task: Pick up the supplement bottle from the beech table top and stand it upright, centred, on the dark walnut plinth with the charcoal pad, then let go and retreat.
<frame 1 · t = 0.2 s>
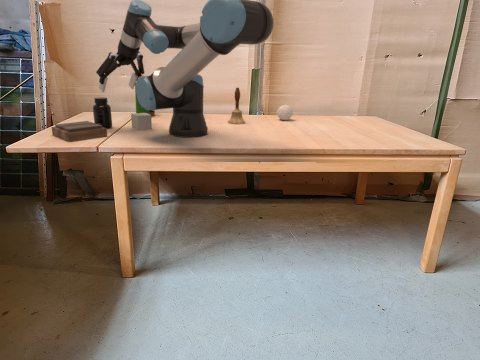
hand: (116, 88, 150), 16 cm above the table, tool tilted 35°, fingers open, 13 cm apart
grey cube: (141, 129, 152), on the table
whitish grey ball: (284, 120, 183), on the table
motor: (145, 116, 182), on the table
walnut plinth: (80, 135, 136), on the table
hand bell: (236, 123, 173), on the table
supplement bottle: (103, 128, 152), on the table
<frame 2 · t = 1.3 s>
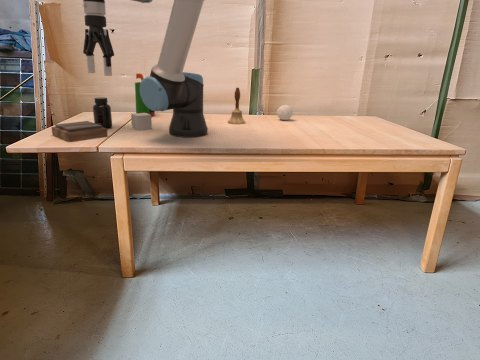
hand: (99, 74, 145), 21 cm above the table, tool pointing down, fingers open, 13 cm apart
nothing on the table moved.
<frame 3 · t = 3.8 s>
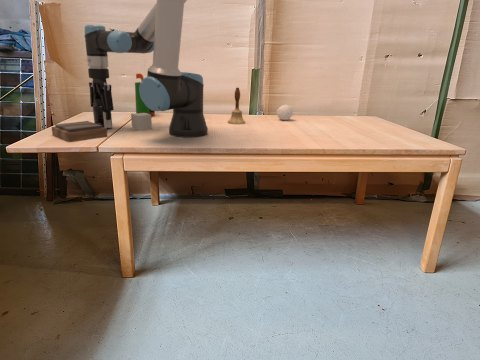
hand: (103, 126, 151), 1 cm above the table, tool pointing down, fingers closed on supplement bottle, 7 cm apart
supplement bottle: (103, 128, 152), on the table, touching gripper
everything else where it was.
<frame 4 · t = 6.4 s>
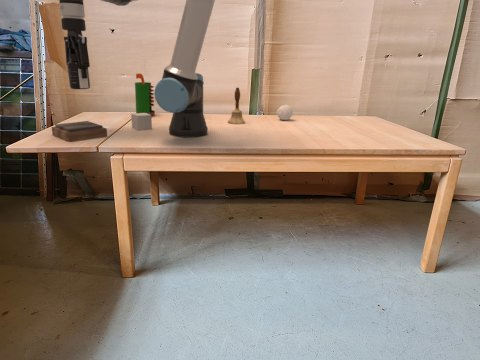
hand: (79, 87, 134), 17 cm above the table, tool pointing down, fingers closed on supplement bottle, 7 cm apart
supplement bottle: (80, 89, 134), point 16 cm above the table, touching gripper
everything else where it was.
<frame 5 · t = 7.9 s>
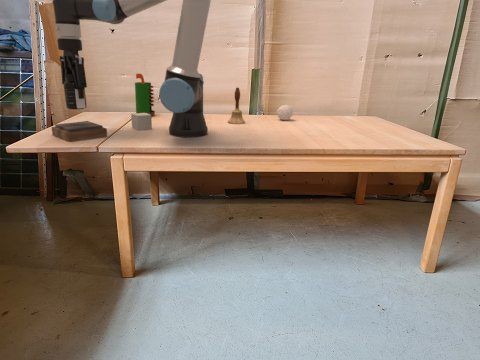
hand: (76, 106, 132), 11 cm above the table, tool pointing down, fingers closed on supplement bottle, 7 cm apart
supplement bottle: (76, 108, 133), point 10 cm above the table, touching gripper
everything else where it was.
when the fingers open (6 cm above the table, at t = 9.0 s): supplement bottle drops 2 cm, resting on walnut plinth.
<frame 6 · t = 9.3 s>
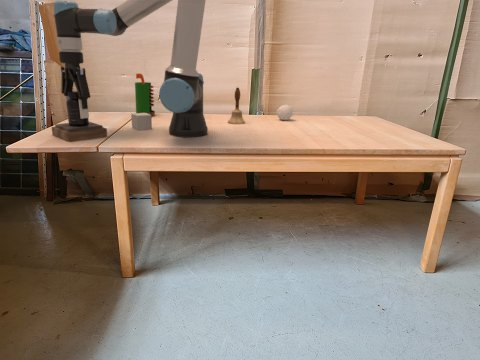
hand: (77, 116, 134), 7 cm above the table, tool pointing down, fingers open, 10 cm apart
supplement bottle: (79, 125, 135), point 4 cm above the table, touching walnut plinth
everything else where it was.
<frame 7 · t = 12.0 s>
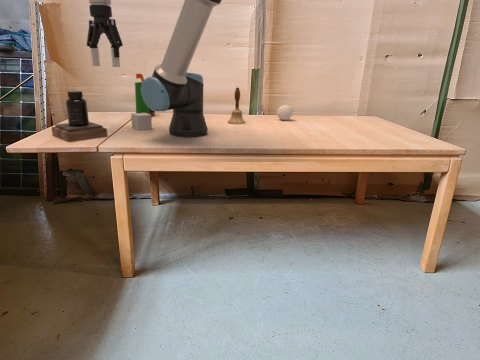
hand: (106, 66, 140), 24 cm above the table, tool pointing down, fingers open, 13 cm apart
nothing on the table moved.
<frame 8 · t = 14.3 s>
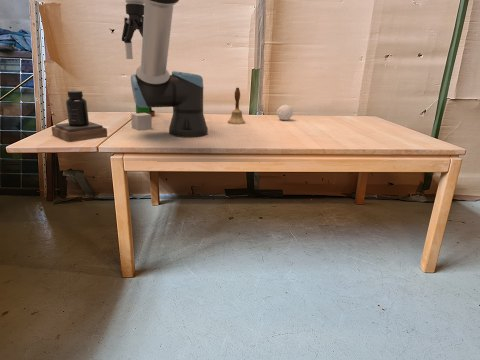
hand: (138, 59, 155), 27 cm above the table, tool pointing down, fingers open, 13 cm apart
nothing on the table moved.
at the end: supplement bottle inside the target area on the walnut plinth (0.1 cm from its centre), point 3.8 cm above the walnut plinth's base; supplement bottle tilted 0°; the gripper is holding nothing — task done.
